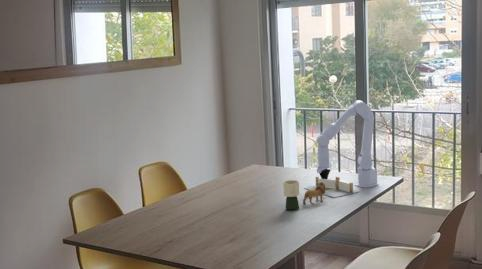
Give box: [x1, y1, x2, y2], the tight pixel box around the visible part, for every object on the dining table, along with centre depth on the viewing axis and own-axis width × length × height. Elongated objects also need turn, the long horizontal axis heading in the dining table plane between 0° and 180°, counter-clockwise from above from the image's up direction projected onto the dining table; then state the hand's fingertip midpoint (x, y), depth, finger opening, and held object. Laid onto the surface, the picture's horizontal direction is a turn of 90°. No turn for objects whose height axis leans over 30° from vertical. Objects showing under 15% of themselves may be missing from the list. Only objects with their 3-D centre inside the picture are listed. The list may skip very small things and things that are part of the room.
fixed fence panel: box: [335, 176, 354, 193], centre depth 305 cm, size 12×2×6 cm, turn 31°
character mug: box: [283, 179, 300, 211], centre depth 279 cm, size 11×7×13 cm, turn 20°
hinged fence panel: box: [315, 176, 336, 188], centre depth 313 cm, size 11×2×5 cm, turn 59°
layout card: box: [303, 185, 360, 199], centre depth 308 cm, size 16×24×1 cm, turn 31°
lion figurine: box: [302, 182, 326, 206], centre depth 288 cm, size 15×5×9 cm, turn 132°
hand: (324, 183), depth 314 cm, fingers closed
